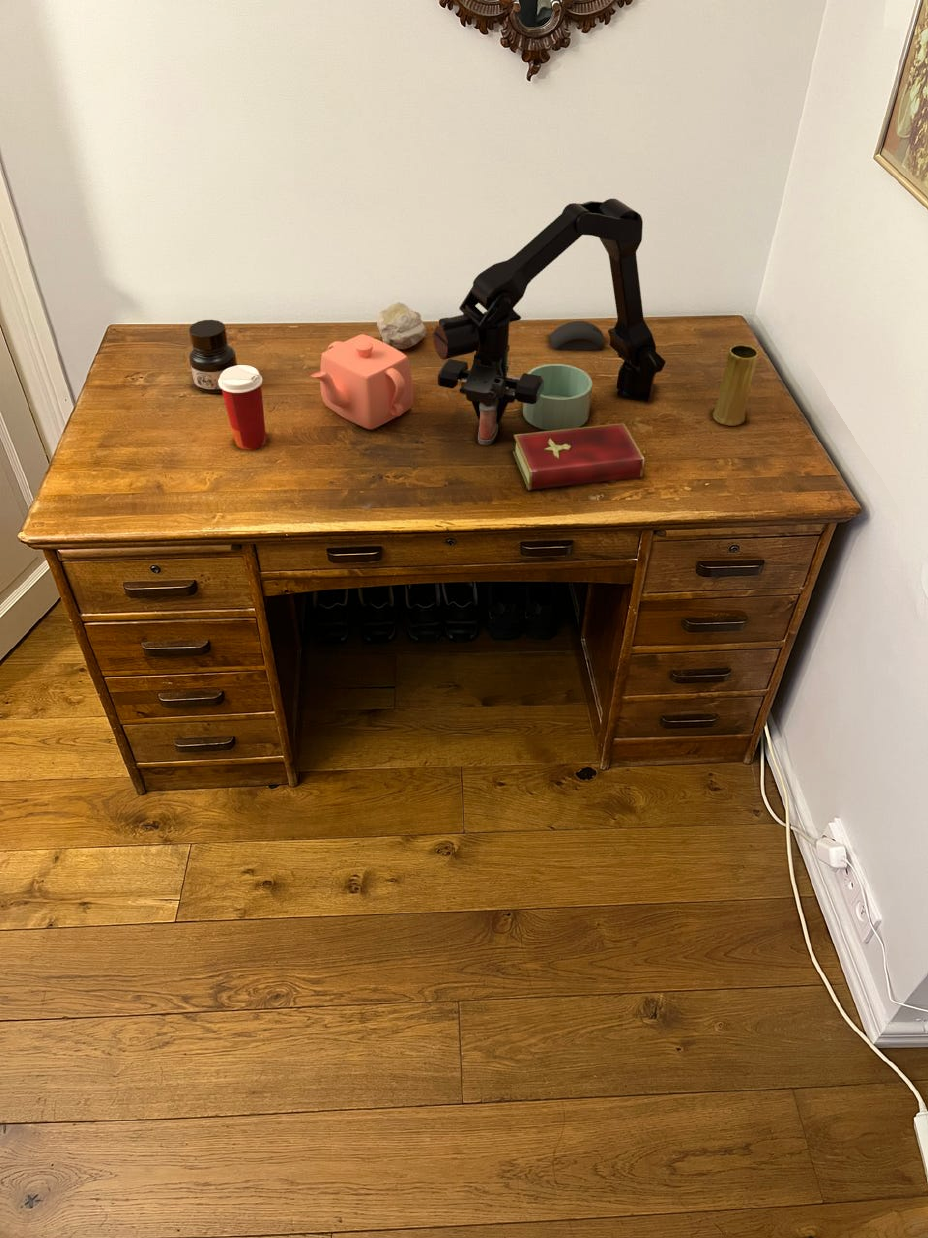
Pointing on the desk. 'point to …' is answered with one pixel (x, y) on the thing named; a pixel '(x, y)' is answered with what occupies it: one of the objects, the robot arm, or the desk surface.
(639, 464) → the hardcover book
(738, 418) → the vase
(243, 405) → the paper cup
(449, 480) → the desk surface
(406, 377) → the teapot
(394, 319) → the grey rock
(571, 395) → the pen pot
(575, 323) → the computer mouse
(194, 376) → the ink bottle
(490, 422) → the lighter
